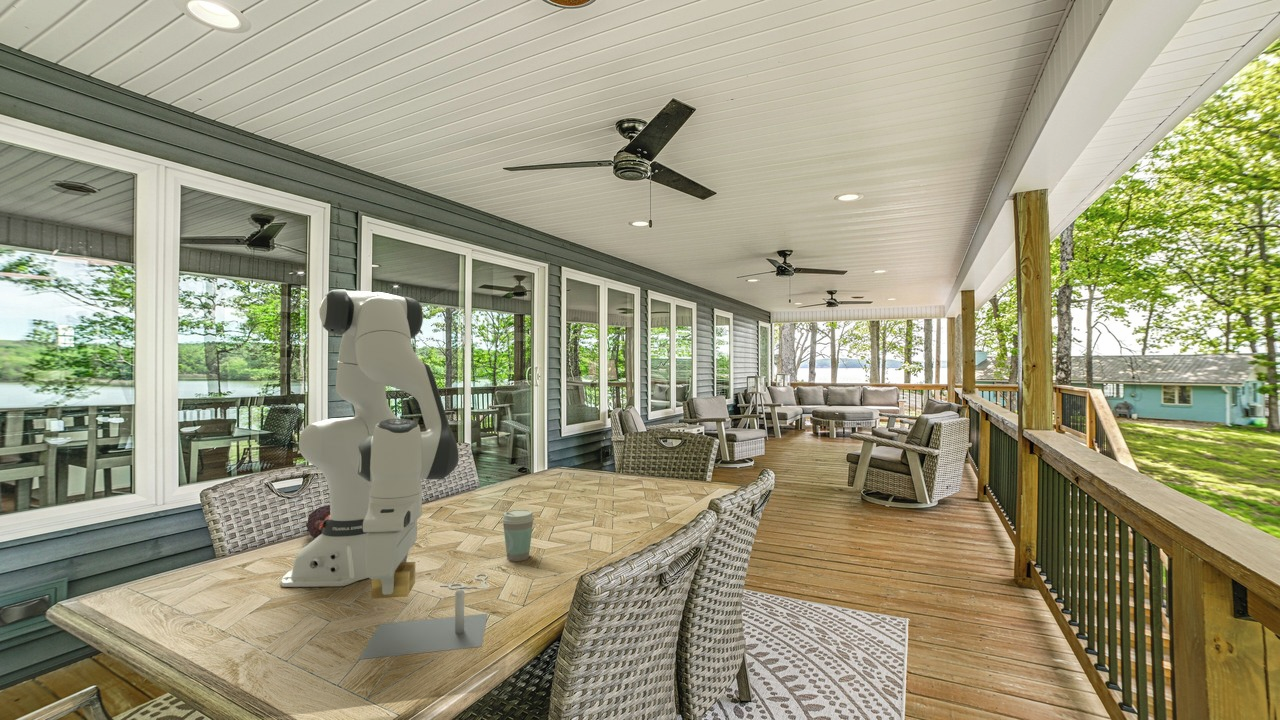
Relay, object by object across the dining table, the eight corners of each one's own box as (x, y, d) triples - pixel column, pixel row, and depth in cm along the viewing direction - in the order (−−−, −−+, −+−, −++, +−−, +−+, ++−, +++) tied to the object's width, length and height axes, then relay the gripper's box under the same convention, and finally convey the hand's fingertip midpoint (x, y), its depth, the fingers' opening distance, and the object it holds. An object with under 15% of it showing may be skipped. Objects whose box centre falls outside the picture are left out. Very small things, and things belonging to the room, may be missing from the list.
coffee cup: (504, 552, 146) (504, 509, 146) (535, 551, 146) (535, 508, 147) (499, 563, 137) (499, 517, 137) (532, 562, 138) (532, 516, 138)
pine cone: (297, 536, 161) (297, 504, 162) (332, 529, 169) (332, 498, 169) (317, 548, 150) (318, 513, 150) (354, 540, 157) (354, 506, 158)
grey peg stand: (358, 668, 88) (358, 612, 88) (380, 631, 101) (380, 582, 101) (481, 654, 92) (481, 601, 92) (487, 621, 105) (487, 574, 105)
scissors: (478, 571, 131) (531, 590, 119) (478, 574, 131) (531, 593, 119) (439, 585, 123) (492, 607, 110) (439, 588, 123) (492, 611, 110)
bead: (371, 598, 92) (371, 576, 92) (381, 584, 98) (381, 563, 98) (407, 596, 94) (407, 574, 94) (415, 582, 99) (415, 561, 100)
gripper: (392, 495, 106) (391, 564, 106) (359, 525, 86) (357, 610, 85) (425, 494, 107) (424, 562, 107) (400, 524, 87) (398, 607, 87)
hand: (394, 584), depth 96 cm, fingers closed on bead, 6 cm apart
